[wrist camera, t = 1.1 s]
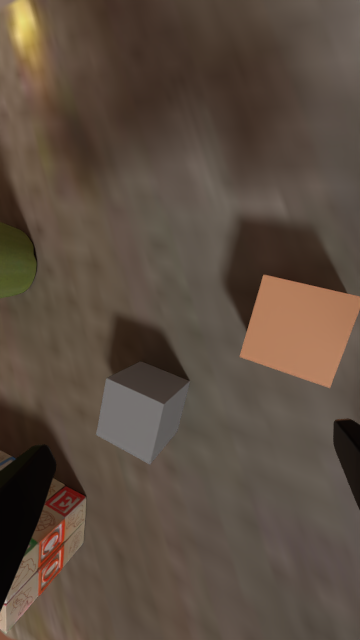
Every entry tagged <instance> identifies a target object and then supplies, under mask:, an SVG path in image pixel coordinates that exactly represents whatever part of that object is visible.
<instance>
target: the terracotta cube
mask: <svg viewBox="0 0 360 640" xmlns="http://www.w3.org/2000/svg"><path fill="white" fill-rule="evenodd" d="M359 310H360V297H359V296H355V295H350V294H346V293H342V292H337V291H333V290H329V289H324V288H320V287H316V286H311V285H307V284H303V283H298V282H294V281H290V280H285V279H281V278H276V277H272V276H268V275H263V278H262V281H261V285H260V288H259V292H258V295H257V299H256V302H255V306H254V309H253V312H252V316H251V319H250V323H249V326H248V330H247V333H246V336H245V340H244V343H243V347H242V350H241V354H240V357H242V358H244V359H247V360H250V361H253V362H256V363H259V364H262V365H265V366H268V367H270V368H273V369H276V370H279V371H282V372H285V373H288V374H291V375H294V376H297V377H299V378H302V379H305V380H308V381H311V382H314V383H317V384H320V385H323V386H326V387H328V388H330V386H331V384H332V381H333V378H334V376H335V373H336V371H337V368H338V365H339V363H340V360H341V357H342V355H343V352H344V350H345V347H346V344H347V342H348V339H349V336H350V334H351V331H352V328H353V326H354V323H355V321H356V318H357V315H358V313H359Z"/></svg>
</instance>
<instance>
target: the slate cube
mask: <svg viewBox="0 0 360 640" xmlns="http://www.w3.org/2000/svg"><path fill="white" fill-rule="evenodd" d="M189 383H190V381H188V380H186V379H183V378H181V377H178V376H176V375H173V374H171V373H169V372H166V371H164V370H161V369H159V368H156V367H154V366H151V365H149V364H146V363H144V362H141V361H140V362H138V363H136V364H134V365H132V366H130V367H128V368H126V369H124V370H122V371H120V372H118V373H116V374H114V375H112V376H109V377H107V378H106V383H105V388H104V394H103V400H102V405H101V411H100V417H99V422H98V428H97V434H96V435H97V436H99V437H101V438H103V439H105V440H107V441H108V442H110V443H112V444H114V445H116V446H117V447H119V448H121V449H123V450H125V451H126V452H128V453H130V454H132V455H134V456H135V457H137V458H139V459H141V460H143V461H144V462H146V463H148V464H151V463H152V461H153V460H154V459H155V458H156V457H157V455H158V454H159V453H160V452H161V451H162V449H163V448H164V447H165V446H166V444H167V443H168V442H169V441H170V440H171V438H172V437H173V436H174V435H175V434H176V432H177V430H178V426H179V422H180V419H181V415H182V411H183V407H184V403H185V399H186V395H187V391H188V387H189Z"/></svg>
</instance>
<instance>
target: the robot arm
mask: <svg viewBox="0 0 360 640" xmlns="http://www.w3.org/2000/svg"><path fill="white" fill-rule="evenodd" d="M333 442H334V447H335V450H336V453H337V456H338V458H339V461H340V463H341V465H342V468H343V470H344V473H345V475H346V478H347V480H348V483H349V485H350V488H351V490H352V493H353V495H354V498H355V500H356V503H357V505H358V507H359V509H360V425H359V424H358V423H356V422H355V421H353V420H351V419H337V420H335V421H334V434H333ZM55 471H56V461H55V459H54V457H53V455H52V453H51V450H50V448H49V447H48V446H47V445H45V444H44V445H35V446H33V447H31V448H30V449H29V450H27V451H26V452H25V453H23V454H22V455H21V456H19V457H18V458H17V459H15V460H14V461H12V462H11V463H10V464H8V465H7V466H6V467H4V468H3V469H2V470H0V612H1V609H2V607H3V605H4V602H5V600H6V598H7V595H8V593H9V591H10V588H11V586H12V583H13V581H14V579H15V576H16V574H17V572H18V569H19V567H20V565H21V562H22V560H23V557H24V555H25V553H26V550H27V548H28V546H29V543H30V541H31V538H32V536H33V534H34V531H35V529H36V527H37V524H38V521H39V519H40V516H41V513H42V510H43V507H44V504H45V501H46V498H47V495H48V492H49V489H50V486H51V483H52V480H53V477H54V474H55Z"/></svg>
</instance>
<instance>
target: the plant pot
mask: <svg viewBox="0 0 360 640" xmlns="http://www.w3.org/2000/svg"><path fill="white" fill-rule="evenodd" d="M33 248H34V247H33V244H32V242H31V241H30V239H29V238H28V236H27V235H26V234H25V233H24V232H22V231H21V230H19V229H17V228H14V227H12V226H9V225H7V224H4V223H2V222H0V298H4V297H9V296H14V295H17V294H20V293H23V292H25V291H26V290H27V289H28V288H29V287H30V285H31V284H32V282H33V280H34V277H35V274H36V266H37V262H36V260H35V257H34V252H33Z"/></svg>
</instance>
